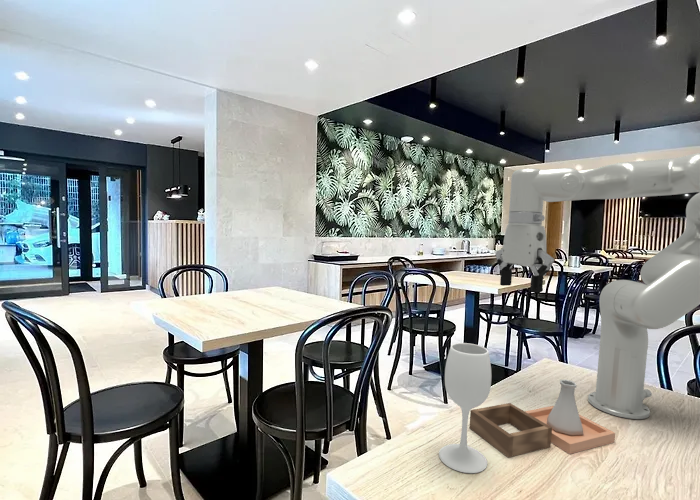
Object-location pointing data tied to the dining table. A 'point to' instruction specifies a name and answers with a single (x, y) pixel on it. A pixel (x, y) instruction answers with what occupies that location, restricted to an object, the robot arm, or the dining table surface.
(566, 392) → the flask
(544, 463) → the dining table surface
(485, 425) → the frame
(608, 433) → the terracotta tray
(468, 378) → the wineglass
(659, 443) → the dining table surface
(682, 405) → the dining table surface
